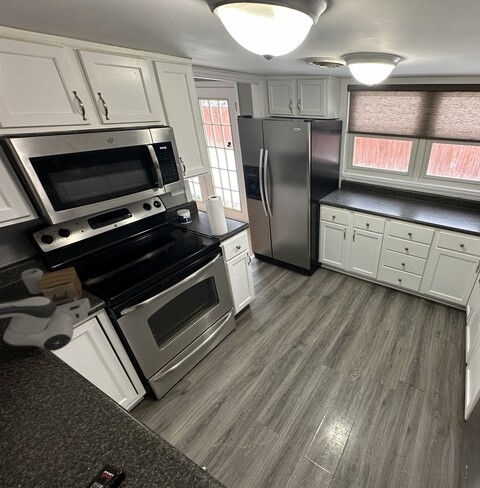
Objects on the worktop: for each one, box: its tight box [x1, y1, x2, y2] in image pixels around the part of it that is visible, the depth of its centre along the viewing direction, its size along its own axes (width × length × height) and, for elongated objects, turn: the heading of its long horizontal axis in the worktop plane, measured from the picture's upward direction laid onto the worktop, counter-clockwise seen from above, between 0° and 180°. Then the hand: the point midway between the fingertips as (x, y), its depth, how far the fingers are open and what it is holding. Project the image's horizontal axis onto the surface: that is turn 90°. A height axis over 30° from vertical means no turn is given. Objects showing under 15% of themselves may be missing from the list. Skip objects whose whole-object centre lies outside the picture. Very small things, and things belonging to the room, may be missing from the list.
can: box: [20, 267, 44, 295], centre depth 134 cm, size 8×8×12 cm
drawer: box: [42, 282, 81, 306], centre depth 128 cm, size 19×11×9 cm, turn 40°
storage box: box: [40, 266, 83, 299], centre depth 132 cm, size 15×12×11 cm
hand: (60, 303), depth 118 cm, fingers open, 8 cm apart
